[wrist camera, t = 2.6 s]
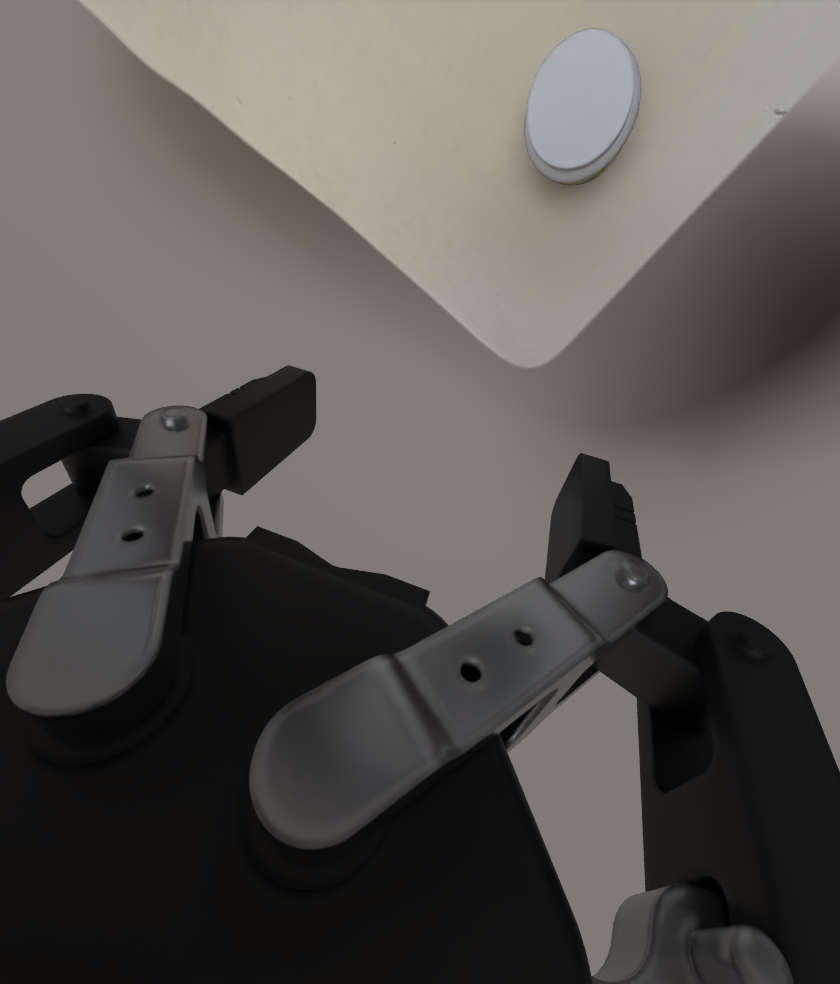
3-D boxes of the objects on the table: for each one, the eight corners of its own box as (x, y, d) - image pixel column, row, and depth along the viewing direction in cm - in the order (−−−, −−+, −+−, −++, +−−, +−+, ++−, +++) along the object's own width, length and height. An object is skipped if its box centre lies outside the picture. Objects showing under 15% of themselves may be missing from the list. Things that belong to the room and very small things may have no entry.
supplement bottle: (592, 42, 20) (596, -34, 14) (649, 122, 21) (678, 86, 14) (519, 140, 23) (492, 116, 16) (571, 206, 24) (565, 208, 17)
